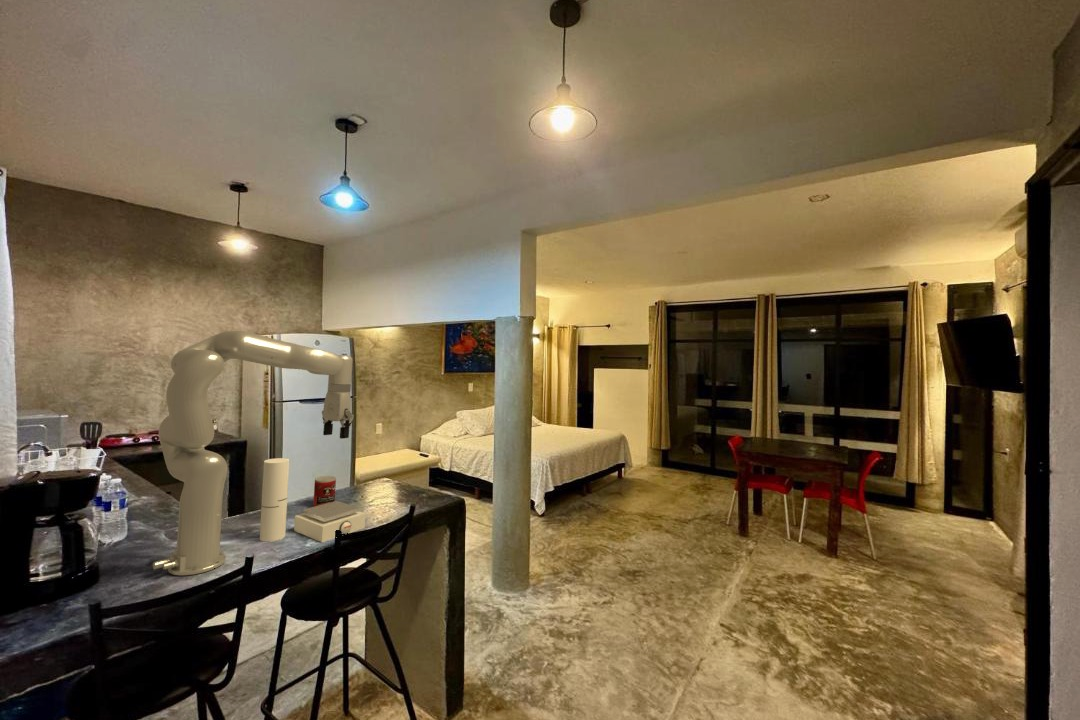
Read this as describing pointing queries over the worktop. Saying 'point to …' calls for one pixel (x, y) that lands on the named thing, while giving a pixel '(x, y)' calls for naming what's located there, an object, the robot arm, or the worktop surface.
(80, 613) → the worktop surface
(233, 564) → the worktop surface
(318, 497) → the canned food
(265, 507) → the cylindrical container
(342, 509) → the scale pan
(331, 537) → the scale base
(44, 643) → the worktop surface
